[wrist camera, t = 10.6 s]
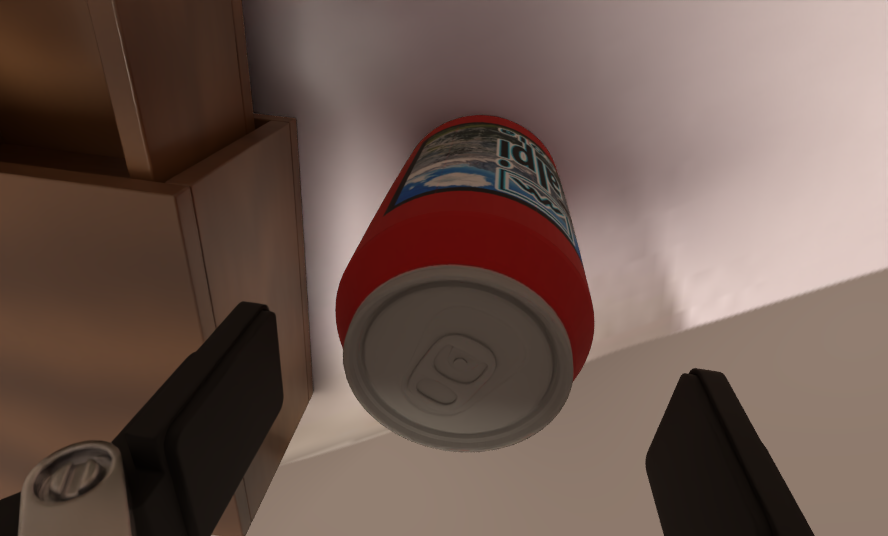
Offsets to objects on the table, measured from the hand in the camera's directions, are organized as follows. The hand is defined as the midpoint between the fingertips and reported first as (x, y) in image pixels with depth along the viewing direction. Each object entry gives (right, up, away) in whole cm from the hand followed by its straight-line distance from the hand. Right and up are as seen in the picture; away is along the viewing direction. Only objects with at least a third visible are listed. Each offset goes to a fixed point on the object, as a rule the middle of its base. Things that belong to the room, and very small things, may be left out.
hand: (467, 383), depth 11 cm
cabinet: (-15, +3, +14) cm, 20 cm away
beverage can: (+1, +6, +10) cm, 12 cm away
